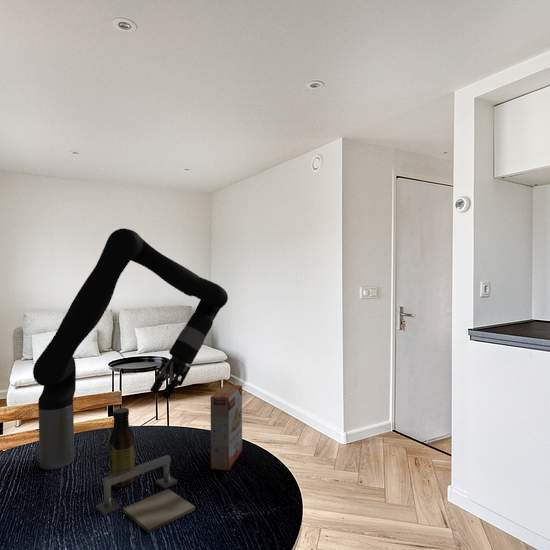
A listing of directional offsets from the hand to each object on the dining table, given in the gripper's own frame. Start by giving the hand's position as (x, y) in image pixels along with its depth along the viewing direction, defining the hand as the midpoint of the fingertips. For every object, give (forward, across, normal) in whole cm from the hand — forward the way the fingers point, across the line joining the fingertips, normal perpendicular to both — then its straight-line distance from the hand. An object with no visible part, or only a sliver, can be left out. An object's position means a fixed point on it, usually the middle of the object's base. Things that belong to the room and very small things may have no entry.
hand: (158, 395), depth 118 cm
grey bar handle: (+23, +8, +6) cm, 25 cm away
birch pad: (+23, +18, +7) cm, 30 cm away
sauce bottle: (+24, -1, +4) cm, 24 cm away
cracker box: (+7, +5, +28) cm, 29 cm away
